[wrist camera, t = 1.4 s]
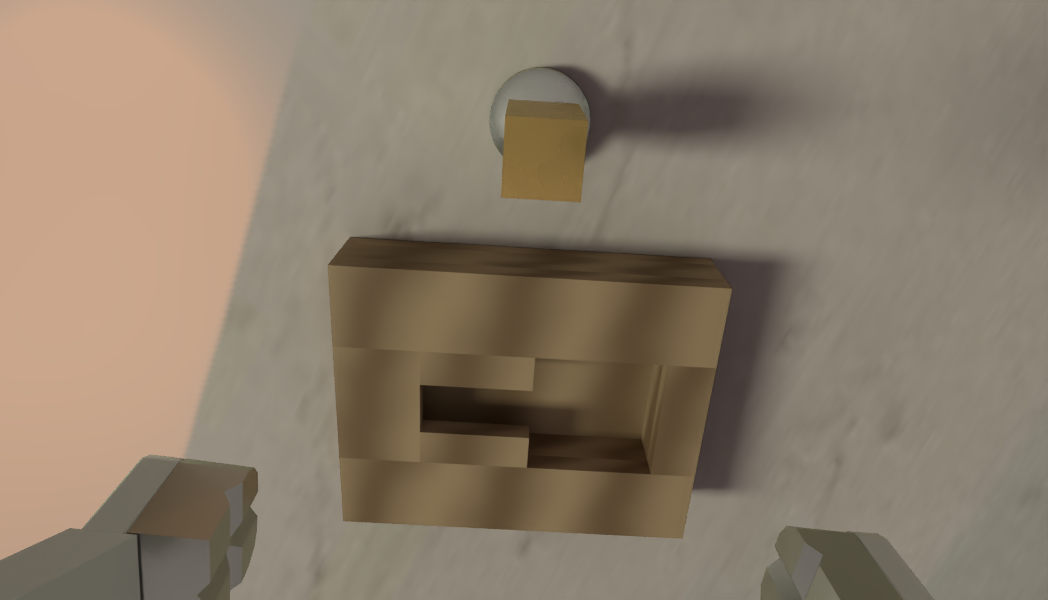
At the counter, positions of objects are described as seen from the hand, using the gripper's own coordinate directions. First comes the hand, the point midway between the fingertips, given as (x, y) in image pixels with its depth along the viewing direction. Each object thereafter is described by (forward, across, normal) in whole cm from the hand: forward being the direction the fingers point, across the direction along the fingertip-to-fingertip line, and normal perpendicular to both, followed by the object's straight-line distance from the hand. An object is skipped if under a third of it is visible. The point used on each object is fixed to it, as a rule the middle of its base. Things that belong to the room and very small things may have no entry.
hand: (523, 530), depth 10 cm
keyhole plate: (+27, -3, +12) cm, 30 cm away
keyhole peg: (+27, -1, -3) cm, 27 cm away
